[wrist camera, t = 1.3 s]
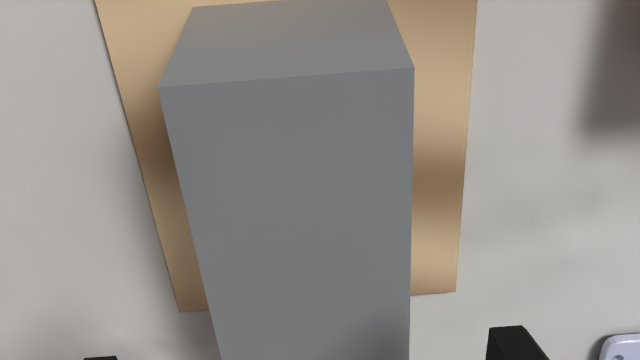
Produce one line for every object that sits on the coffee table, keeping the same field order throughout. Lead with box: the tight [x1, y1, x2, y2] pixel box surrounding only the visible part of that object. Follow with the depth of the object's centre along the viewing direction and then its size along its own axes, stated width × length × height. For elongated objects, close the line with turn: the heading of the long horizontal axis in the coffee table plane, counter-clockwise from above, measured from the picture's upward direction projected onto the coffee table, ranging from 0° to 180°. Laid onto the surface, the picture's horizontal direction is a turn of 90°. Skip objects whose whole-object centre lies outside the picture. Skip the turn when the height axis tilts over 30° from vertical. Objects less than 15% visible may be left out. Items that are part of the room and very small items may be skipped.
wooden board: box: [95, 0, 477, 312], centre depth 19 cm, size 12×10×1 cm
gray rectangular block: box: [157, 0, 415, 360], centre depth 17 cm, size 10×5×5 cm, turn 4°
